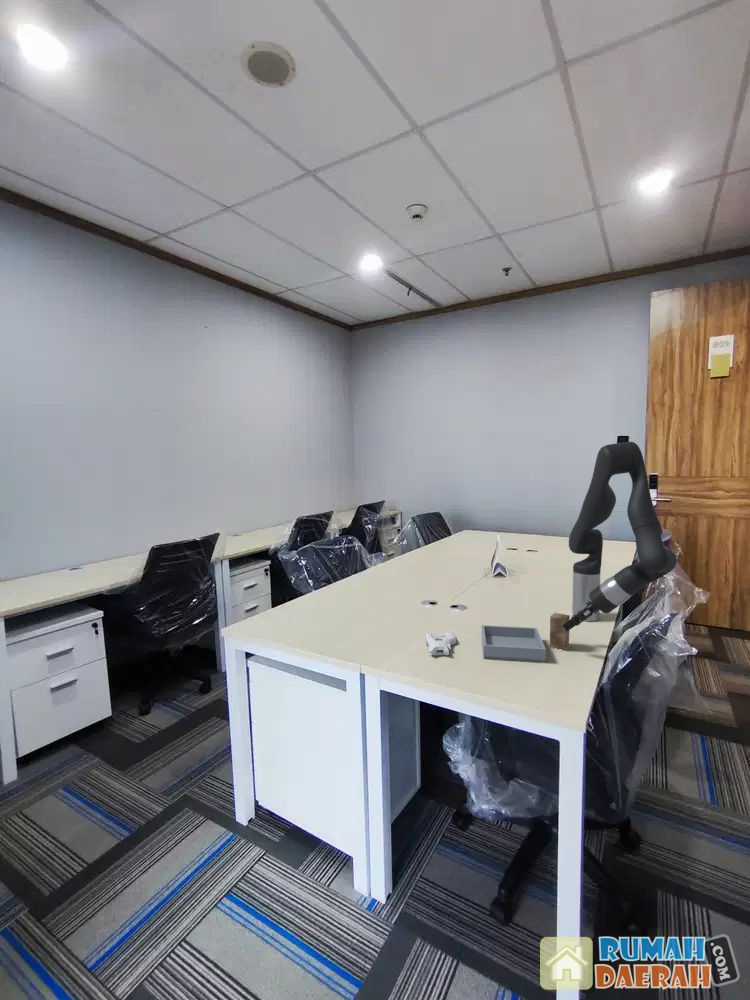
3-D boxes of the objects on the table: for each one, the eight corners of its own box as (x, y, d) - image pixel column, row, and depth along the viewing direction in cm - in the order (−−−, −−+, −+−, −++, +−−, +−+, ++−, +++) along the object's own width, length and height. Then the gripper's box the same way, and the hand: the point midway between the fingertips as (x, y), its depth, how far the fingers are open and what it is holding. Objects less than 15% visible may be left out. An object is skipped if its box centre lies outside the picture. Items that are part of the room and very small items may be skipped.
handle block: (549, 647, 144) (550, 616, 143) (554, 642, 147) (554, 612, 147) (564, 650, 141) (565, 619, 140) (569, 646, 145) (569, 615, 144)
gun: (461, 646, 137) (428, 647, 137) (461, 658, 137) (428, 658, 138) (452, 628, 155) (422, 629, 156) (452, 638, 155) (423, 639, 156)
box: (481, 636, 154) (481, 625, 153) (536, 639, 150) (536, 627, 150) (483, 658, 136) (483, 645, 136) (545, 662, 133) (545, 649, 133)
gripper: (606, 579, 141) (567, 608, 149) (594, 589, 130) (552, 620, 138) (625, 598, 138) (584, 627, 146) (615, 611, 127) (571, 641, 135)
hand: (569, 624), depth 142 cm, fingers open, 8 cm apart
